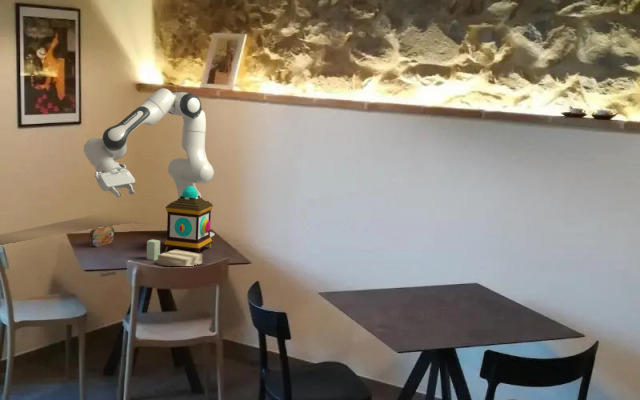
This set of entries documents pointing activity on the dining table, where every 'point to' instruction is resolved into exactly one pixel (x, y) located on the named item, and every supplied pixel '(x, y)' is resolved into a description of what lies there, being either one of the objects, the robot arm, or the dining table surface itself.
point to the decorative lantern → (189, 222)
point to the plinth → (179, 258)
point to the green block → (153, 249)
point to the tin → (101, 236)
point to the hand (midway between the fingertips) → (126, 195)
